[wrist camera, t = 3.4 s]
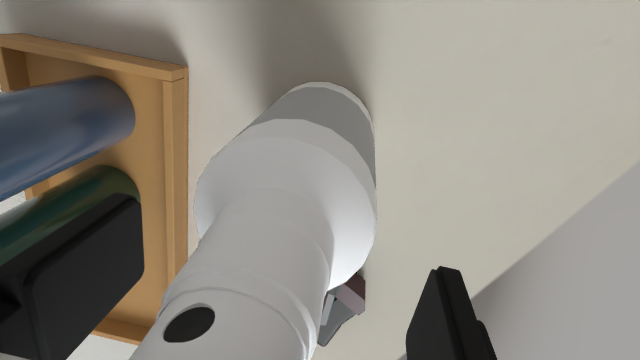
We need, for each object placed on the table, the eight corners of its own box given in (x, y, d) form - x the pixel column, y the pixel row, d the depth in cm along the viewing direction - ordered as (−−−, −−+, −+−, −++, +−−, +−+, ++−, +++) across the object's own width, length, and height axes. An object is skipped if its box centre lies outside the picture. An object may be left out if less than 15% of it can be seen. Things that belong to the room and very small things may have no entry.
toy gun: (263, 185, 25) (240, 221, 20) (384, 285, 27) (386, 336, 23) (193, 261, 29) (161, 305, 24) (304, 343, 31) (293, 396, 26)
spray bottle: (367, 72, 21) (360, 266, 4) (379, 177, 23) (400, 538, 7) (258, 88, 22) (-60, 288, 6) (280, 186, 25) (108, 512, 8)
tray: (20, 32, 22) (-12, 34, 21) (188, 66, 22) (171, 71, 20) (72, 308, 33) (54, 325, 31) (187, 335, 32) (175, 354, 30)
